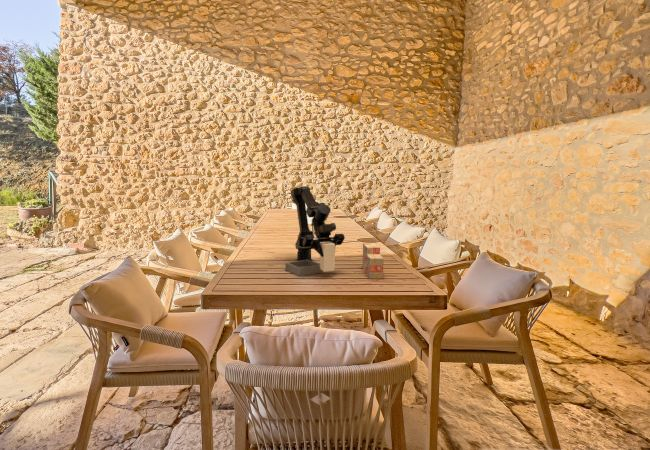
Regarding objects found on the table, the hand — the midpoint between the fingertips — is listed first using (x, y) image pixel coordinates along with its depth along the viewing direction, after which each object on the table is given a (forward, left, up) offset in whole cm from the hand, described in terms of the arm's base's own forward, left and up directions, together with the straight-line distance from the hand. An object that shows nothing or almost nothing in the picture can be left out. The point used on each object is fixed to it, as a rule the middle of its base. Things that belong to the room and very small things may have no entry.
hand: (328, 255), depth 165 cm
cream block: (0, -1, -7) cm, 7 cm away
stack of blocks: (-22, +5, -10) cm, 24 cm away
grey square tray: (+4, -14, -9) cm, 17 cm away
